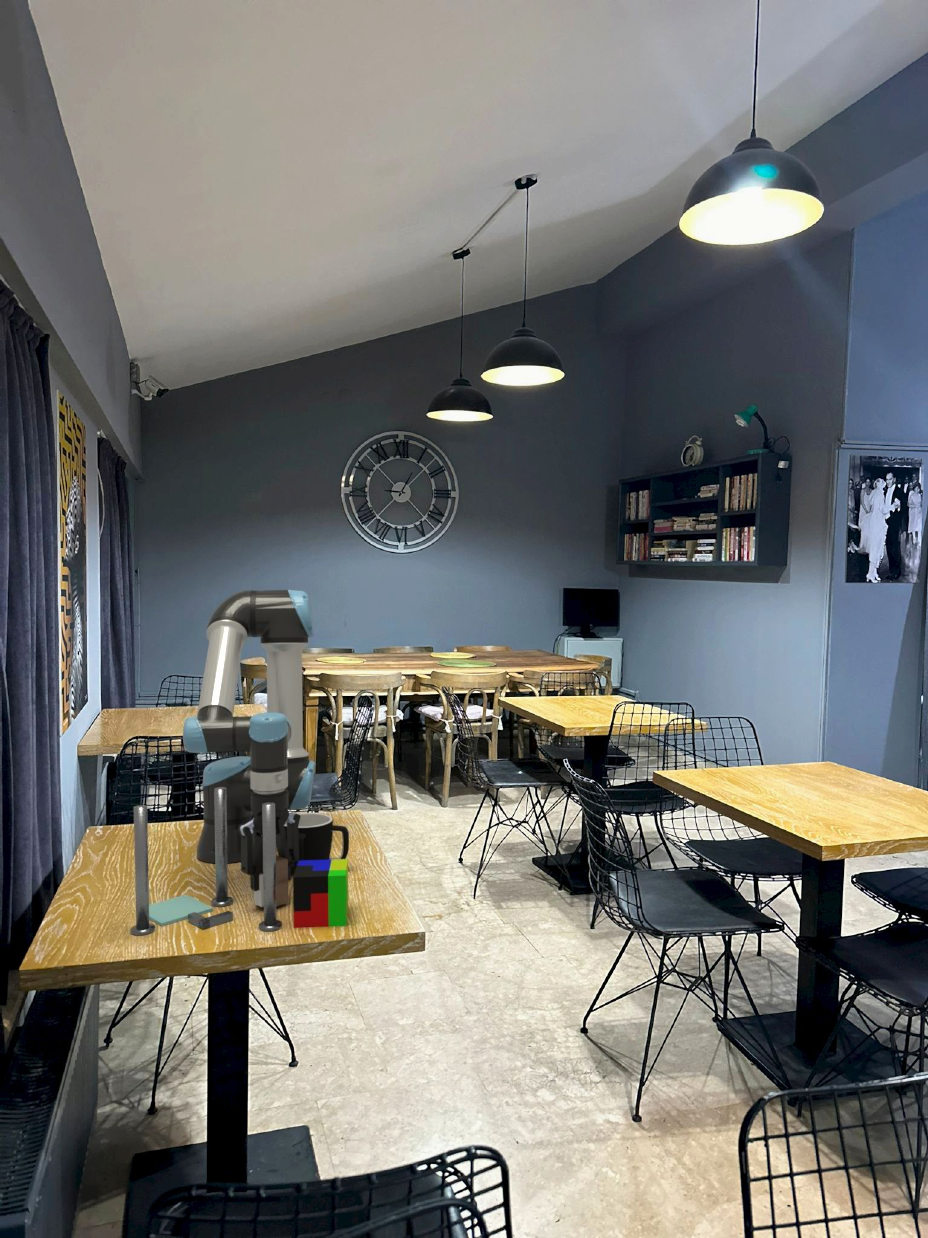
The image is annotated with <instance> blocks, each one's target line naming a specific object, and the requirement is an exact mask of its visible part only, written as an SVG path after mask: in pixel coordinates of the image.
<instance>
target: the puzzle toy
mask: <svg viewBox="0 0 928 1238" xmlns="http://www.w3.org/2000/svg"><path fill="white" fill-rule="evenodd" d="M292 884H293V885H292V892H293V893H292V895H293V896H292V897H293V900H292V901H293V906H292V907H293V928H294V929H301V928H325V927H327V928H330V927H332V928H333V927H346V926H347V921H348V913H349V908H350V907H349V858H346V859H333V860H300V861H298V864H297V867H296V870H295V873H294V875H292Z"/></svg>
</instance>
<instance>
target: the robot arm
mask: <svg viewBox="0 0 928 1238" xmlns="http://www.w3.org/2000/svg"><path fill="white" fill-rule="evenodd" d="M314 629H315V628H314V621H313V614H312V608H311V602H310V598H309V595H308V594H307V592H306V591H304V590H296V589H295V590H293V589H278V590H277V589H276V590H275V589H274V590H272V589H270V590H252V589H251V590H250V589H247V590H242V591H238V592H236V593H234V594H232V595H230V596H229V597H227V598H226V599H224V601H222V602H221V603H220V604H219V605H218V607H216V609H215V610H214V611H213V613H212V615H211V616H210V619H209V620H208V623H207V628H206V631H205V632H206V639H207V641H208V642H209V643H208V647H207V648H208V649H207V655H206V659H205V665H204V666H205V667H204V672H203V678H202V683H201V684H202V685H201V691H200V695H199V696H200V697H199V701H198V702H199V703H198V708H197V713H196V715H197V716H193V717H188V718H186V719H185V721H184V722H183V723H184V724H183V729H182V738H183V739H182V741H183V747H184V750H185V751H186V752H188V753H193V754H194V753H195V754H196V753H198V754H208V753H209V754H210V753H230V752H231V753H234V752H235V753H237V752H238V753H243V752H249V754H250V756H244V755H241V756H232V757H226V758H221V759H219V760H216V761H212V762H210V763H209V764H207V765H206V766H205V767H204V769H203V772H202V773H203V774H202V777H203V778H202V783H201V786H202V789H203V791H202V792H203V793H202V796H203V797H202V799H203V827H202V828H201V829H202V830H201V831H200V832H201V833H200V836H199V839H198V842H197V844H196V845H197V847H196V858H197V860H199V861H201V862H204V863H209V864H215V805H214V789H215V788H219V787H225V788H226V800H227V864H231V863H238V862H240V870H241V872H242V873H244V874H247V875H248V876H250V878H249V879H250V885H249V886H250V890H252V891H253V904H255V905H256V906H259V907H260V908H264V907H263V906H264V891H263V874H261V873H260V872H261V867H262V862H263V819H262V804H264V803H275V835H276V851H277V853H278V854H277V855H278V856H280V857H283V858H285V859H288V882H290V881H291V879H292V874H291V867H293V866H294V863H293V862H294V861H298V860H299V833H298V825H299V821H300V817H301V816H300V815H299V814H300V813H296V812H293V810H303V809H306V808H308V807H309V805H310V804H311V798H312V792H313V784H314V779H315V778H314V777H315V767H316V763H315V761H314V760H310V753H309V752H308V751H307V750H306V749H305V748H304V744H303V743H304V739H303V738H304V737H303V734H304V732H303V728H304V727H303V726H304V725H303V724H304V723H303V719H304V718H303V650H304V649H305V648H306V647H307V646H309V638H311V637H314V635H315V631H314ZM248 638H260V645H261V647H262V648H263V649H265V651H266V701H267V702H266V712H261V713H257V714H253V715H246V716H245V715H241V716H237V715H236V716H234V711H235V703H236V696H237V689H238V683H239V682H238V681H239V680H238V679H239V673H240V664H241V655H242V647H243V646H245V644H246V643H247V641H248ZM289 811H290V812H289ZM286 821H287V841H286V837H285V836H286V832H285V828H284V825H285V823H286Z"/></svg>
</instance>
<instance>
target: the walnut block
mask: <svg viewBox="0 0 928 1238" xmlns="http://www.w3.org/2000/svg"><path fill="white" fill-rule="evenodd" d="M260 873H261V874H263V862H262V867H261V872H260ZM288 903H290V902H289V881H288V859H285V858H283V857H280V856H279V854H276V907H279V906H282V905H284V904H288ZM262 908H264V906H263V907H262Z"/></svg>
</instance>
